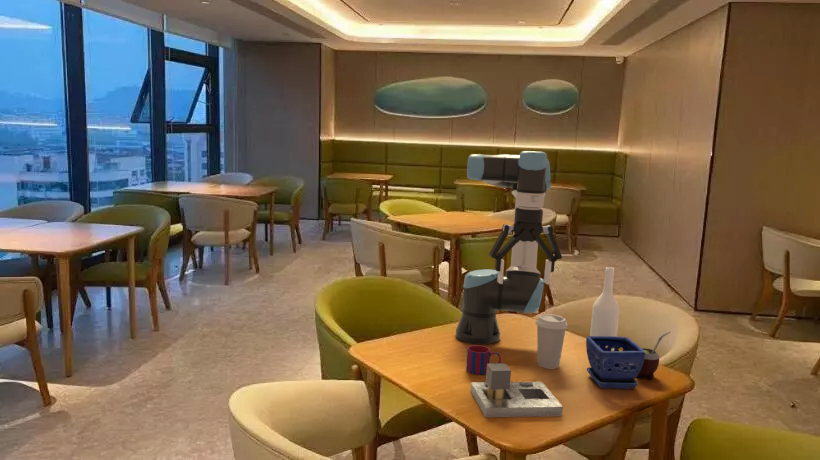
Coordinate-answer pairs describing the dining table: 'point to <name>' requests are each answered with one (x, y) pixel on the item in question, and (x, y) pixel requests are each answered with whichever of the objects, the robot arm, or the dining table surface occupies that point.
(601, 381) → the flower pot
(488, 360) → the cup
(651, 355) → the mate gourd
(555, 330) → the coffee cup
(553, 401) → the socket
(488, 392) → the plug
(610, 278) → the bottle
